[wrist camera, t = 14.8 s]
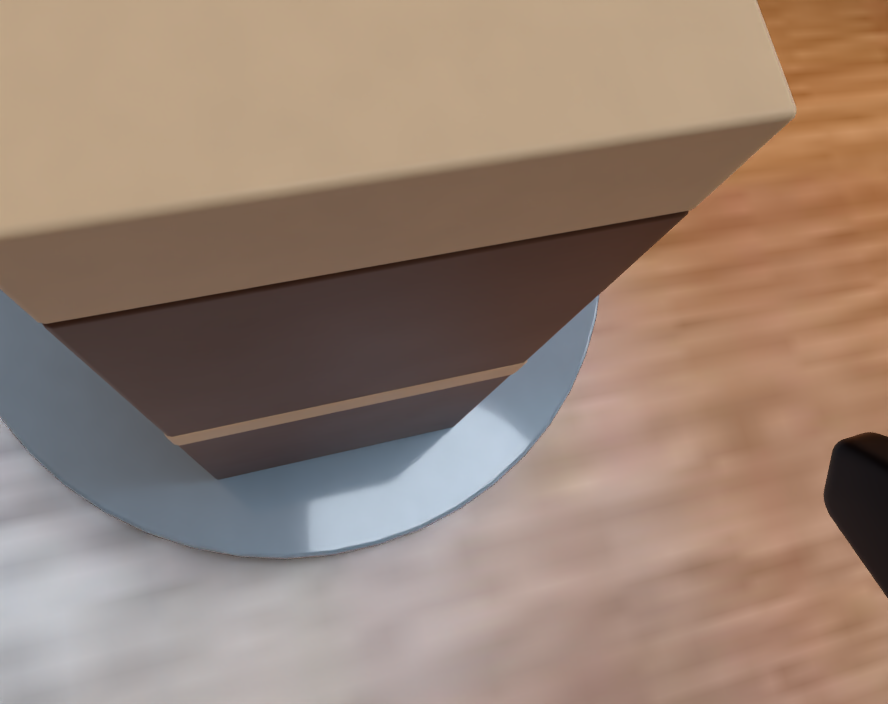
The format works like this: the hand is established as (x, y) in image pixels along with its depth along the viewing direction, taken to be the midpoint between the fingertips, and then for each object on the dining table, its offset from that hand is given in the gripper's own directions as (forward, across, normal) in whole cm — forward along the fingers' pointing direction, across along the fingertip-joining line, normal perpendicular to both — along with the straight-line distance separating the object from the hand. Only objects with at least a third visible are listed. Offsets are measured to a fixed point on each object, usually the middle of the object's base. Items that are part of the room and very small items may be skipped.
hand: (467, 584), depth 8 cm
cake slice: (+11, 0, +1) cm, 11 cm away
